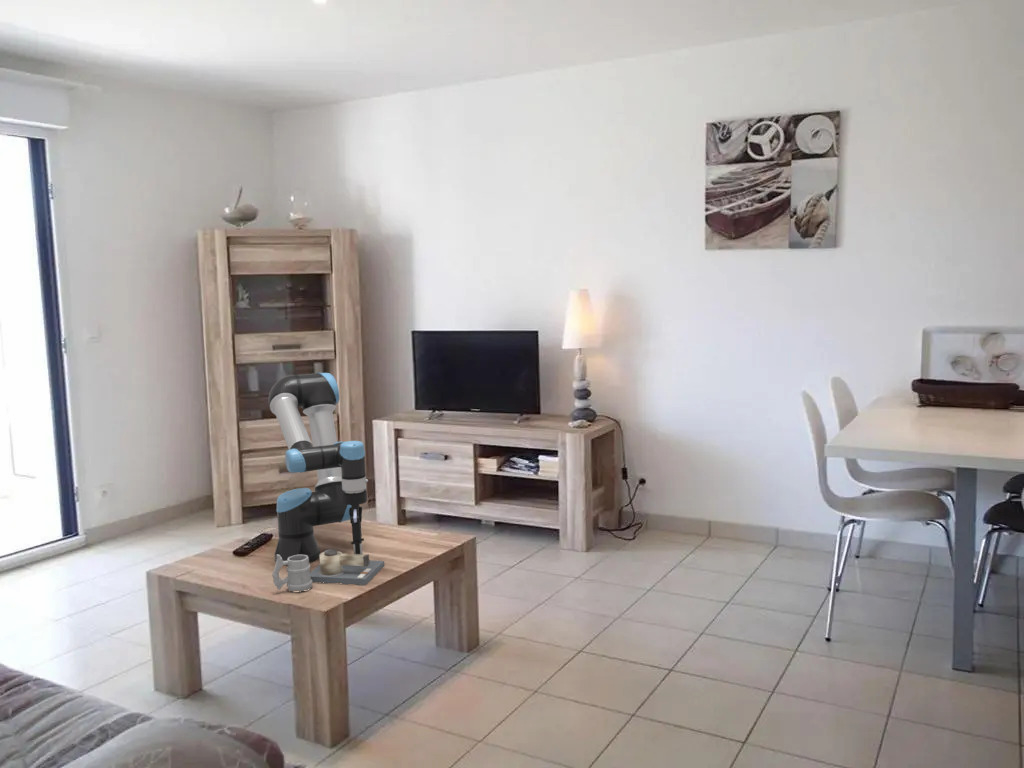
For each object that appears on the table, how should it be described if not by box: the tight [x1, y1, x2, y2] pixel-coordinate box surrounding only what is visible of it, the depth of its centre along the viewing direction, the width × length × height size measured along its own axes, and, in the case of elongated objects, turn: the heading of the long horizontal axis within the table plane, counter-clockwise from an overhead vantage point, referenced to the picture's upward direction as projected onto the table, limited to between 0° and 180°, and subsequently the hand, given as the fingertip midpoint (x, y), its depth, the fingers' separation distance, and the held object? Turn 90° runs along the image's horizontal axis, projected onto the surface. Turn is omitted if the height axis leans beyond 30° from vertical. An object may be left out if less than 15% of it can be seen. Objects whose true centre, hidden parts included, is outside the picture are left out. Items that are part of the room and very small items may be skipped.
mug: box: [272, 554, 313, 593], centre depth 260 cm, size 8×12×12 cm, turn 119°
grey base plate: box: [310, 559, 385, 586], centre depth 273 cm, size 20×17×2 cm
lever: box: [319, 548, 370, 575], centre depth 268 cm, size 16×7×7 cm, turn 77°
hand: (358, 562), depth 271 cm, fingers closed
